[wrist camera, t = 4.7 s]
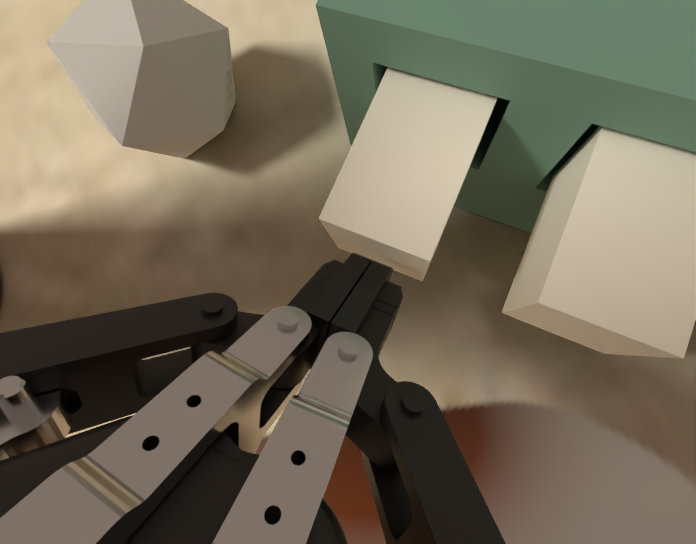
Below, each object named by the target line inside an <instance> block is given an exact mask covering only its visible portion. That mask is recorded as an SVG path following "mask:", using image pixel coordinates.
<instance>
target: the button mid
mask: <svg viewBox="0 0 696 544" xmlns="http://www.w3.org/2000/svg"><path fill="white" fill-rule="evenodd" d="M501 313H503V314H505V315H508V316H510V317H513V318H515V319H518V320H521V321H523V322H526V323H528V324H531V325H533V326H536V327H538V328H541V329H543V330H546V331H548V332H551V333H553V334H556V335H558V336H561V337H563V338H566V339H568V340H571V341H573V342H576V343H578V344H581V345H583V346H586V347H588V348H591V349H593V350H596V351H598V352H601V353H604V354H615V355H632V356H648V357H665V358H682V359H684V356H685V353H686V350H687V347H688V343H689V340H690V337H691V334H692V330H693V327H694V324H695V321H696V152H693V151H689V150H686V149H682V148H678V147H675V146H671V145H668V144H664V143H660V142H657V141H653V140H650V139H646V138H642V137H639V136H635V135H632V134H628V133H624V132H621V131H617V130H614V129H610V128H606V127H603V126H599V127H598V128H597V129H596V130H595V132H594V133H593V134H592V135H591V136H590V137H589V138H588V139H587V140H586V141H585V142H584V143H583V144H582V146H581V147H580V148H579V149H578V150H577V151H576V152H575V153H574V154H573V155H572V156H571V157H570V158H569V160H568V161H567V162H566V163H565V164H564V165H563V166H562V167H561V168H560V169H559V170H558V171H557V172H556V174H555V175H554V176H553V177H552V180H551V183H550V185H549V188H548V191H547V193H546V196H545V198H544V201H543V204H542V206H541V209H540V212H539V214H538V217H537V220H536V222H535V225H534V228H533V230H532V233H531V235H530V238H529V241H528V243H527V246H526V249H525V251H524V254H523V257H522V259H521V262H520V265H519V267H518V270H517V272H516V275H515V278H514V280H513V283H512V286H511V288H510V291H509V294H508V296H507V299H506V302H505V304H504V307H503V310H502V312H501Z"/></svg>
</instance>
